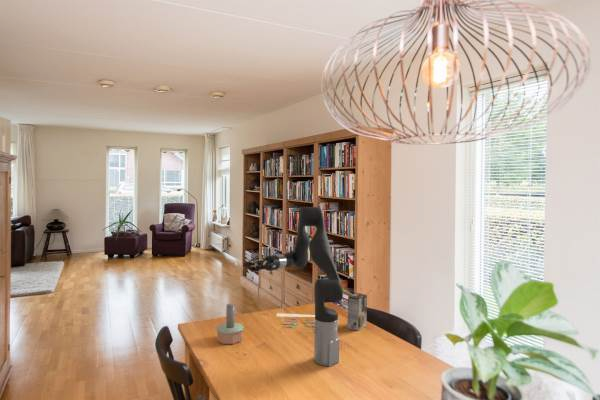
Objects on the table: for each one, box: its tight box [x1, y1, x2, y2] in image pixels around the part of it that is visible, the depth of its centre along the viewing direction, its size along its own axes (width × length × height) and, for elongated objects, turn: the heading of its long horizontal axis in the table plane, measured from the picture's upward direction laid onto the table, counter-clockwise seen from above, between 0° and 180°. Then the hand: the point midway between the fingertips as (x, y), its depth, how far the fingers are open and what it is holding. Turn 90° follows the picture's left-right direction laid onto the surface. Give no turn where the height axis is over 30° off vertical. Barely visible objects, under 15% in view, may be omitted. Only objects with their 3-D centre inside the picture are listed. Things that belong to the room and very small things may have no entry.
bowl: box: [217, 331, 243, 345], centre depth 180 cm, size 10×10×5 cm
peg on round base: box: [216, 303, 245, 334], centre depth 180 cm, size 12×12×11 cm
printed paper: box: [275, 312, 315, 330], centre depth 203 cm, size 30×30×2 cm
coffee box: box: [347, 292, 368, 331], centre depth 200 cm, size 9×6×16 cm
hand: (250, 266), depth 187 cm, fingers open, 8 cm apart
